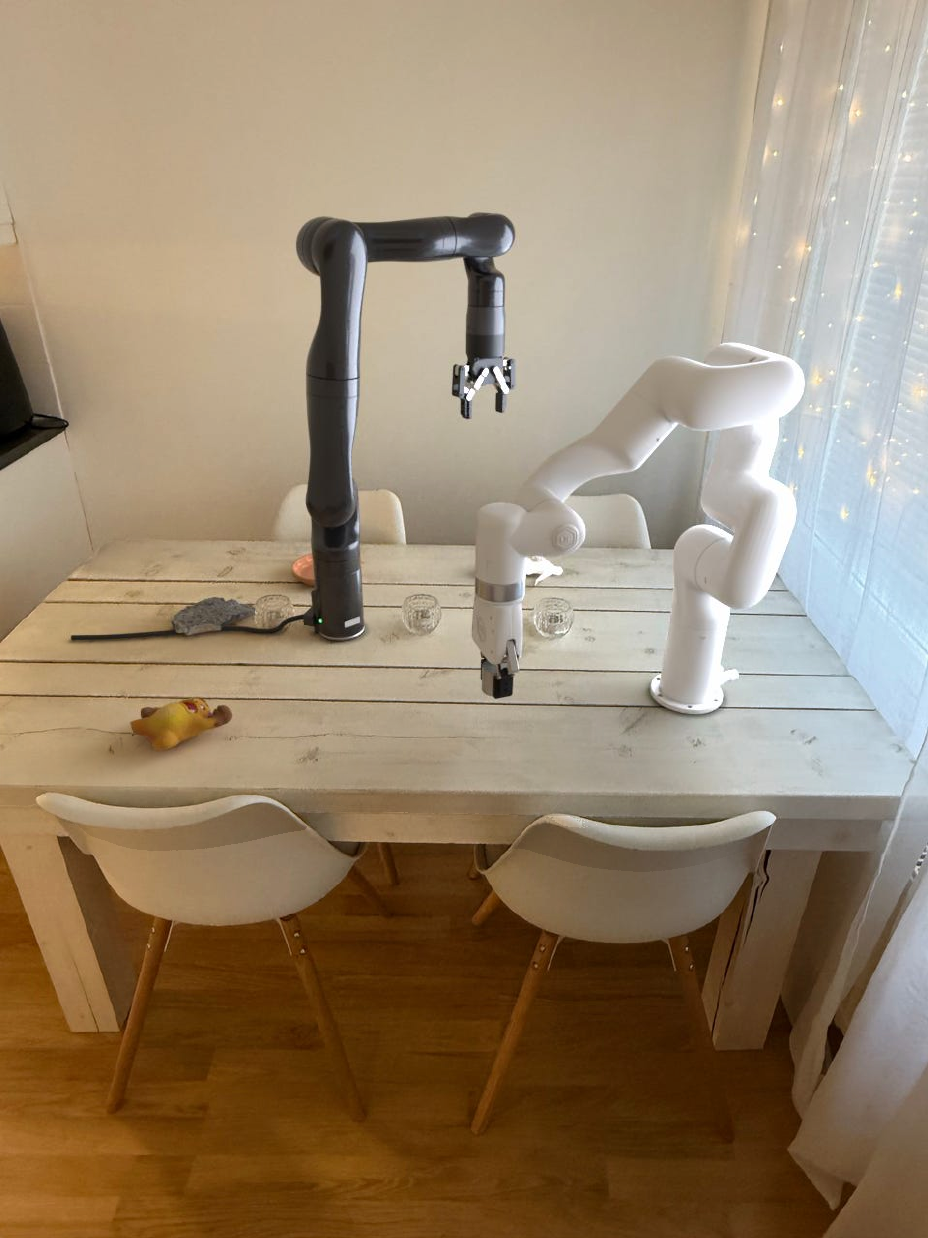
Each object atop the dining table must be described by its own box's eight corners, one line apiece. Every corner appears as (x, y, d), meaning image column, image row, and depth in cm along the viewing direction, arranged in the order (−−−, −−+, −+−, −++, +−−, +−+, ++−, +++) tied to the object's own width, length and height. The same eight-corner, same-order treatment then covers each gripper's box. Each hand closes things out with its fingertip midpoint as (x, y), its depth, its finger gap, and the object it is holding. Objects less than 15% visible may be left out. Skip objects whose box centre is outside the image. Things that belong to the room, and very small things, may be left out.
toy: (124, 709, 134) (215, 682, 140) (135, 746, 135) (224, 717, 142) (132, 722, 124) (229, 692, 131) (144, 761, 125) (239, 730, 132)
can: (511, 696, 129) (512, 673, 127) (483, 697, 129) (483, 673, 127) (508, 681, 133) (509, 658, 131) (480, 682, 133) (481, 658, 130)
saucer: (304, 559, 195) (303, 548, 194) (369, 564, 193) (368, 552, 192) (281, 589, 181) (280, 576, 180) (351, 594, 179) (351, 581, 178)
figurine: (483, 589, 181) (563, 599, 182) (486, 568, 179) (567, 578, 180) (482, 559, 197) (556, 568, 198) (485, 539, 194) (560, 548, 195)
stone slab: (156, 626, 166) (154, 613, 164) (223, 596, 177) (221, 584, 176) (194, 646, 159) (192, 633, 158) (261, 614, 171) (259, 601, 169)
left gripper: (468, 336, 148) (467, 424, 156) (526, 329, 156) (522, 413, 164) (443, 330, 153) (443, 416, 161) (501, 323, 161) (498, 406, 169)
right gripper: (457, 566, 128) (456, 665, 136) (497, 614, 114) (494, 721, 123) (501, 560, 130) (498, 658, 139) (546, 606, 116) (539, 712, 125)
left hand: (483, 415), depth 162 cm, fingers open, 8 cm apart
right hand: (496, 686), depth 131 cm, fingers closed on can, 4 cm apart
